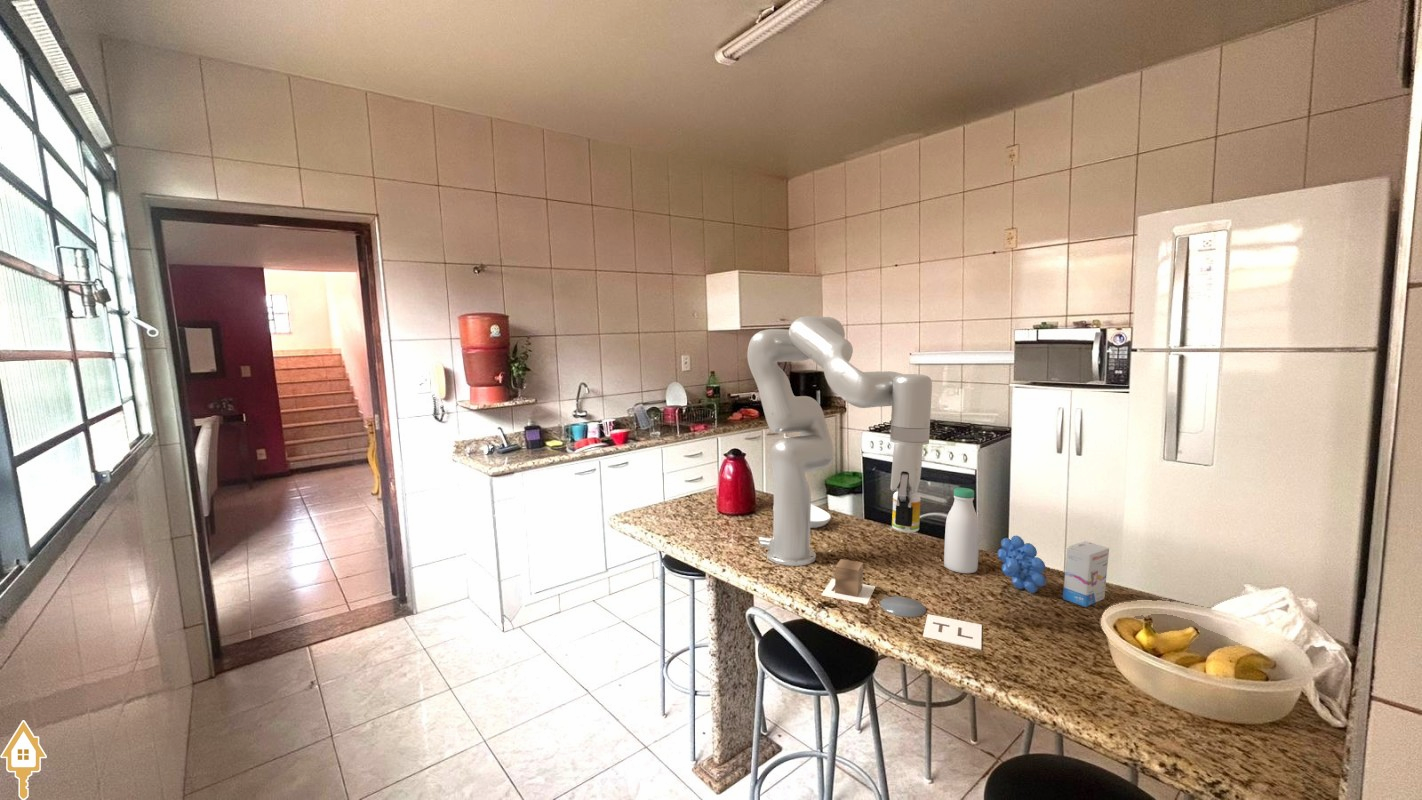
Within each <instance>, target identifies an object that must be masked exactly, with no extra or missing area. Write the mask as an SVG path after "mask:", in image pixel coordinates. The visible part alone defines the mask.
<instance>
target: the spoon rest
mask: <svg viewBox="0 0 1422 800" xmlns="http://www.w3.org/2000/svg"><path fill="white" fill-rule="evenodd" d="M772 510H773V512H774V505H773V507H772ZM831 520H832V517H831V514H830V513H829V512H827V511H826V510H825V509H822V508H820V507H819V506H817V505H815V504H814V503H811V514H810V529H817V528H821V527H824V526H825V525H827V524H828V523H829V522H830V521H831Z"/></svg>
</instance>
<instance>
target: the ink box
mask: <svg viewBox="0 0 1422 800" xmlns="http://www.w3.org/2000/svg"><path fill="white" fill-rule="evenodd" d="M1109 553H1110V548H1109V547H1106V546H1103V545H1100V544H1097V543H1095V542H1090V541H1086V540H1085V541H1082V542H1079V543H1074V544H1072V545H1069V546H1068V547H1067V548H1066V556H1065V558H1066V559H1065V568H1064V569H1065V571H1064V581H1063V592H1062V593H1063V594H1062V599H1063V601H1067V602H1070V603H1073V604H1075V605H1078V606H1080V607H1083V608H1087V607H1089V606H1092V605H1094V604H1096V603H1098V602H1100V601H1102V600H1104V599H1105V596H1106V595H1105V594H1106V586H1107V575H1108V564H1109V555H1110V554H1109Z"/></svg>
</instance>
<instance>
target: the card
mask: <svg viewBox="0 0 1422 800" xmlns="http://www.w3.org/2000/svg"><path fill="white" fill-rule="evenodd" d="M982 625H983V624H979V623H976V622H975V623H974V622H971V621H970V622H969V621H966V620H965V621H964V620H960V619H955V618H950V617H943V616H939V615H934V614H929V613H927V616H926V620H925V625H924V628H923V634H922V637H924V638H927V639H933V640H938V641H939V642H942V643H947V644H951V645H956V646H961V647H964V648H969V649H974V650H980V651H982V632H983V629H982V628H983V627H982Z"/></svg>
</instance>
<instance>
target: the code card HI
mask: <svg viewBox="0 0 1422 800" xmlns="http://www.w3.org/2000/svg"><path fill="white" fill-rule="evenodd" d="M875 588H876V586H875V585H870V584H869V585H868V584H864V583H862V590H861V592H860V594H859V596H858V597H854V596H849V595H844V594H839V593H835V578H831V579H830V580H829V582H828V584H827V585H826V587H825V589H824V590H823V592H822V593H821V594H820V595H821V596H823V597H829V598H834V599H837V600H844V601H848V602H853V603H859V604H864V605H868V603H869V602H870V599H871V597H872V595H873V592H874V590H875Z"/></svg>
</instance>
